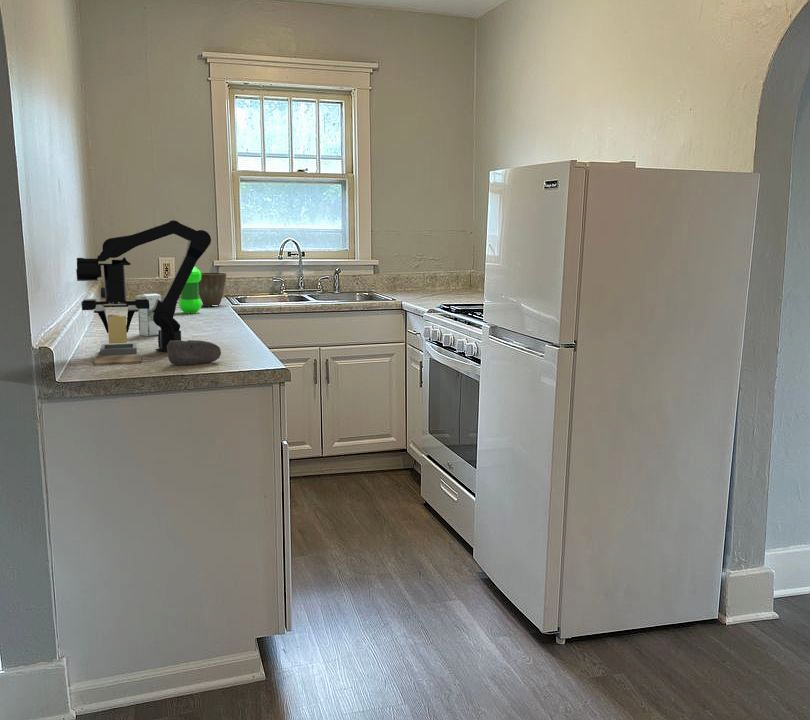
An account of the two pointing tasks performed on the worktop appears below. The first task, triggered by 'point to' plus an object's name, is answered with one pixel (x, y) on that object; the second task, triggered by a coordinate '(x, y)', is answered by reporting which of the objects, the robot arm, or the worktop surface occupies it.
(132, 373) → the worktop surface
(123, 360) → the walnut board
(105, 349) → the hinged window frame
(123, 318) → the block
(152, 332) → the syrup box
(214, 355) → the perforated stone tool
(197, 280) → the plastic bottle
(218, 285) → the plant pot
